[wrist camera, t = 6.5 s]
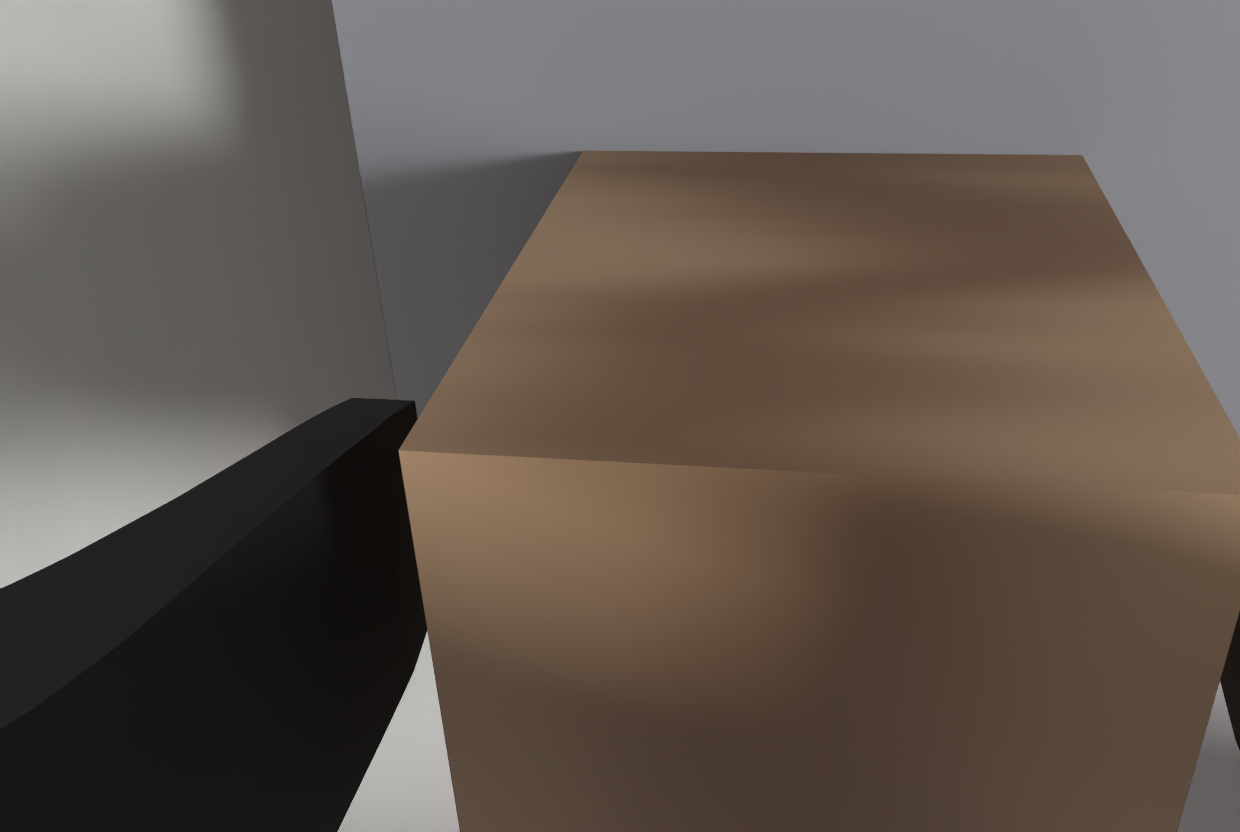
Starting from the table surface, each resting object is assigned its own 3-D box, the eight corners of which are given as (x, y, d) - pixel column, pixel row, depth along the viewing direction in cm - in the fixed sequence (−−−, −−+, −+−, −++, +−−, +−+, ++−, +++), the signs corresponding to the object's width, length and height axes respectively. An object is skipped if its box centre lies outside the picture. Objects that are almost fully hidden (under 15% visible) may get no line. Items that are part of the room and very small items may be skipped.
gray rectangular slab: (1346, -302, 12) (1485, -310, 9) (1137, 623, 18) (1186, 774, 15) (396, -250, 13) (291, -244, 11) (500, 581, 19) (447, 710, 17)
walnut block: (1082, 155, 11) (1272, 496, 6) (1016, 563, 14) (1115, 1041, 9) (582, 150, 12) (398, 450, 7) (605, 536, 15) (481, 961, 10)
